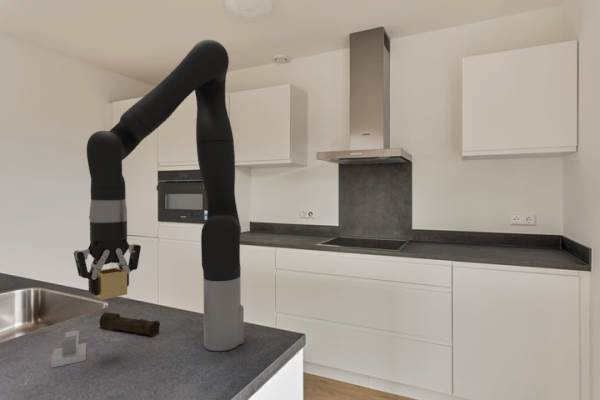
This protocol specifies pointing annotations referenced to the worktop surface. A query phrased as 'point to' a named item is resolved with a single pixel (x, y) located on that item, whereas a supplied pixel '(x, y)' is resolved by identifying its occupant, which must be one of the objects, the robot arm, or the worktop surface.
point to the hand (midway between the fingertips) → (109, 291)
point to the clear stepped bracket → (69, 350)
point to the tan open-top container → (111, 283)
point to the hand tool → (128, 324)
